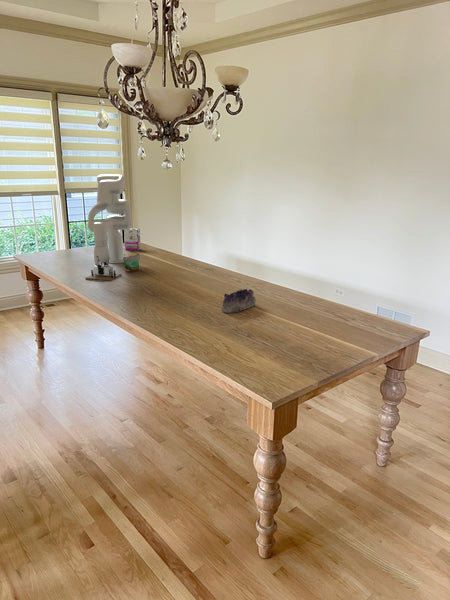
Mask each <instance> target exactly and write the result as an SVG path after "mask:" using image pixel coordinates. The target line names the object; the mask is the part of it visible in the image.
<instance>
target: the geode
mask: <svg viewBox="0 0 450 600" xmlns="http://www.w3.org/2000/svg"><path fill="white" fill-rule="evenodd" d="M254 292H255V291H254V290H253V289H248V288H245V289H239V290H237V291H235V292H231V293H230V294H227V292H226V293H224V295H223V296H224V298H223V301H222V308H221V311H222V312H223V314H226V315H230V314H238V313H239V312H241V311H244V310H248V309H250V308H252V307H254V306H256V297H255V296H254Z"/></svg>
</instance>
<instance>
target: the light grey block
mask: <svg viewBox="0 0 450 600" xmlns="http://www.w3.org/2000/svg"><path fill="white" fill-rule="evenodd" d="M92 267H93V274H94V275H101V274H98V268H97V266H96V265H95V264H94V266H92ZM102 268H103V273H104V274H103V275H105V276H110V275H111V271H112V272H113V273H114V271H113V270H114V266H113V265H110V264H109V265H104V264H103V266H102Z"/></svg>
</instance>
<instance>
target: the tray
mask: <svg viewBox="0 0 450 600" xmlns="http://www.w3.org/2000/svg"><path fill="white" fill-rule="evenodd" d="M120 277H122V273H116V276H114V272H113V278H111V275H110V276H105V275H94V276H92V275H88V276H86V277H85V280H87V281H96V282H104V283H105V282H109V283H111V282H113V281H115V280H116V279H118V278H120Z"/></svg>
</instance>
